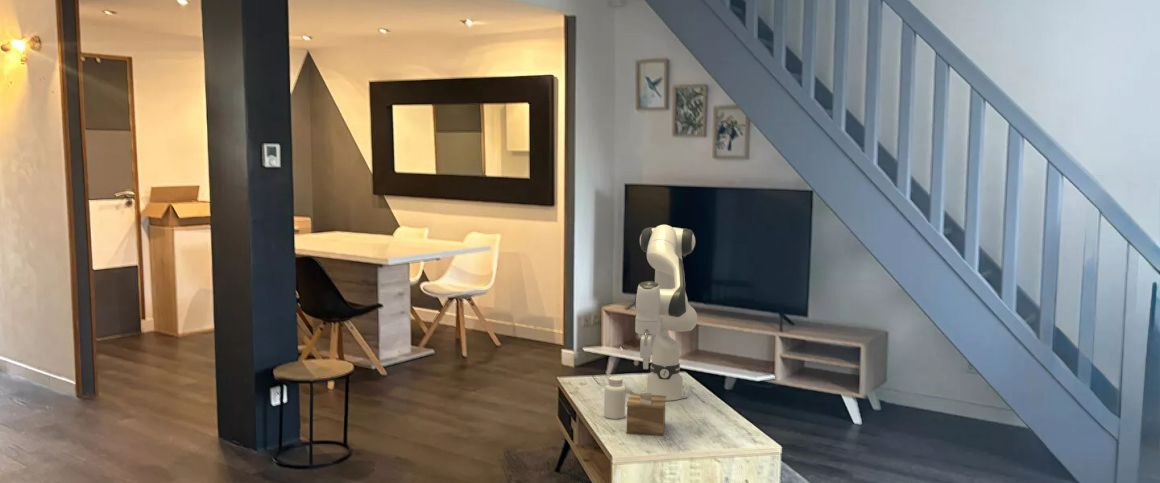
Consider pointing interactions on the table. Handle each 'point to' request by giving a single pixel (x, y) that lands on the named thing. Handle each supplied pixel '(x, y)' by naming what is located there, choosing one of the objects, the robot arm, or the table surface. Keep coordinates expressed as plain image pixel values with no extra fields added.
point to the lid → (646, 400)
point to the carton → (645, 420)
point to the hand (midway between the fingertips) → (646, 365)
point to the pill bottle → (614, 399)
